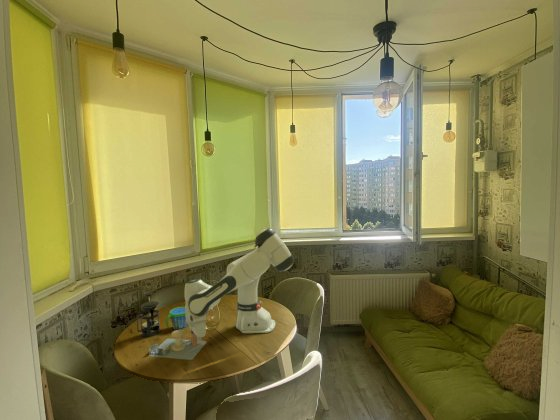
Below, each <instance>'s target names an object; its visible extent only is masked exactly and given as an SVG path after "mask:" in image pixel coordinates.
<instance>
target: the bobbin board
mask: <svg viewBox="0 0 560 420" xmlns="http://www.w3.org/2000/svg"><path fill="white" fill-rule="evenodd" d="M185 333H186V332H185V330H184V329H179V330H173V331H172V332H171V337H172V338H168V337H167V338H166V339H165V340H164V341H163V342H162V343H161V344H159V345H158V349H164V348H165V347H166V346H167V345H168V344H171V350H170V351H169V352H168V353H167V354H166V355H165V356H159V355H149V354H148V355H147V356H148V357H154V358H155V357H156V358H165V359H166V358H167V359H168V358H170V359H176V360H178V359H179V360H188V361H192V360H193V359H194V358H195V357H196V356H197V354H199V352H200V351H201V350H202V349H203V347H204V346H205V345H206V344H207V343H208V341H205V340H201V344H199V345H195V346H192V344H191V340H190V339H184V338H183V336H184V335H185Z"/></svg>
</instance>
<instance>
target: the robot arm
mask: <svg viewBox="0 0 560 420" xmlns="http://www.w3.org/2000/svg"><path fill="white" fill-rule="evenodd" d="M254 240H255V241H254V243H255V245H254V248H256V249H254V250H252V251H251V252H249V253H246V254H245V255H243V256H241V257H240V258H238V259H236V260H234V261H231V262H230V263H229V264H228V265H227V267H226V274H225V275H224V276H223V277H222V278H221V279H219V281H218V282H216V283H215V284H214V285H210V284H207V283H206V282H204V281H203V280H202V279H201V278H195V279H190V280H189V281H187V282H186V283H185V285H184V301H185V306H184V307H185V317H186V323H187V327H189V331H191V330H192V331H193V332H194V334H195V335H196V336H197V339H196V342H197V344H199V343H201V341H202V338H203V337H204V338H205V336H206V334H207V333H206V331H207V330H206V329H207V321H206V320H207V313H208V311H210V310H211V309H212V308H214V307H215V306H217V305H218V304H219V303H220V302H221V300H222V297H224V296H225V295H227V294H229V293H231V292H233V291H236V290H237V301H236V309H237V319H236V324H235V328H236V330H238V331H240V333H242V334H255V333H256V334H261V333H263V334H264V333H266V334H267V333H271V332H272V331H273V330H274V329H275V327H276V320H274V319H272V316H271V314H270V312H269V311H267V310H266V309H265V308H264V307H262V300H260V301H259V299H258V289H259V288H258V286H259V282H260V279H261V277H262V275H264V273H266V272H267V271H268V269H270V266H271V265H272V266H273V268H274V269H275V270H276V271H277V272H281V273H282V272H285V271H288V270H289V269H290V268H292V267H293V264H294V263H295V257H294V256H293V254H292V253H291V251H290V250H289V247H287V245H286V244H285V242H284V241H283V240H282V239H281V237H279V235H278V234H277V233H276V231H275V230H274V229H272V228H271V227H268V228H264V229H261V231H259V232H258V234H257V236H255V239H254Z"/></svg>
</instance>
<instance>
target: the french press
mask: <svg viewBox="0 0 560 420" xmlns="http://www.w3.org/2000/svg"><path fill="white" fill-rule="evenodd" d="M153 295H154V293H153V292H146V293H145V294H144V296H146V297H148V301H147V302H143V303H142V304H141V305H140V310H141V311H142V312H141V314H140V313H139V314H137V315H136V324H137V326H136V327H137V332H138V333H140V332H141V336H142V337H144V338H150V337H154V336H157V335H158V334H159V333H160V332H161V325H160V311H159V310H157V309H156V308H157V307H158V306H159V301H152V300H151V298H150V297H151V296H153ZM154 313H156V314H154ZM147 314H149V316H144V315H147ZM139 317H140V320H139ZM157 317H158V318H157ZM156 318H157V320H156ZM143 320H146V321H145V322H144V321H143ZM139 321H140V324H139ZM140 326H141V329H139V328H140Z"/></svg>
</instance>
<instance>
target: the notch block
mask: <svg viewBox="0 0 560 420" xmlns="http://www.w3.org/2000/svg"><path fill="white" fill-rule="evenodd" d="M158 346H159V345H158V342H155V343H154V344H152V345H151V346H150V347H149V348H148V352H149V353H148V355H159V356H165V355H166V354H167V353H168V352H169V351H170V350H171V344H168V345H167V346H166V347H165V348H164V349H158Z"/></svg>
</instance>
